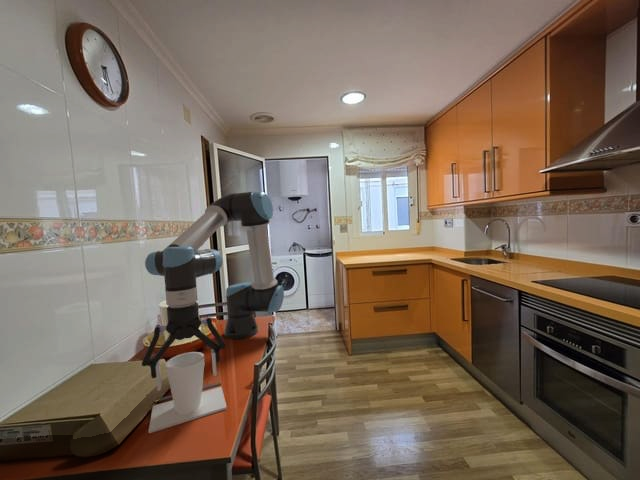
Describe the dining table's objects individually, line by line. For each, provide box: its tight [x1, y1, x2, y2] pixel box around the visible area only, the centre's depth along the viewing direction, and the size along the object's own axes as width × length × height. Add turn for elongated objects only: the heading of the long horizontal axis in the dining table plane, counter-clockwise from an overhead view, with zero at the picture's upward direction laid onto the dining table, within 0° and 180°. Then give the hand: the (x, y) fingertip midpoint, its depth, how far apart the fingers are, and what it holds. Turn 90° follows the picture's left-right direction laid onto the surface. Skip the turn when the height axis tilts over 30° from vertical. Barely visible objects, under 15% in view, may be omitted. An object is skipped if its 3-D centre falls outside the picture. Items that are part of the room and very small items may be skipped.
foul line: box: [159, 381, 222, 403], centre depth 83 cm, size 18×1×1 cm, turn 116°
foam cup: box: [165, 351, 206, 414], centre depth 75 cm, size 10×9×13 cm
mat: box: [148, 386, 227, 434], centre depth 76 cm, size 18×11×1 cm, turn 116°
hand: (188, 380), depth 76 cm, fingers open, 13 cm apart
